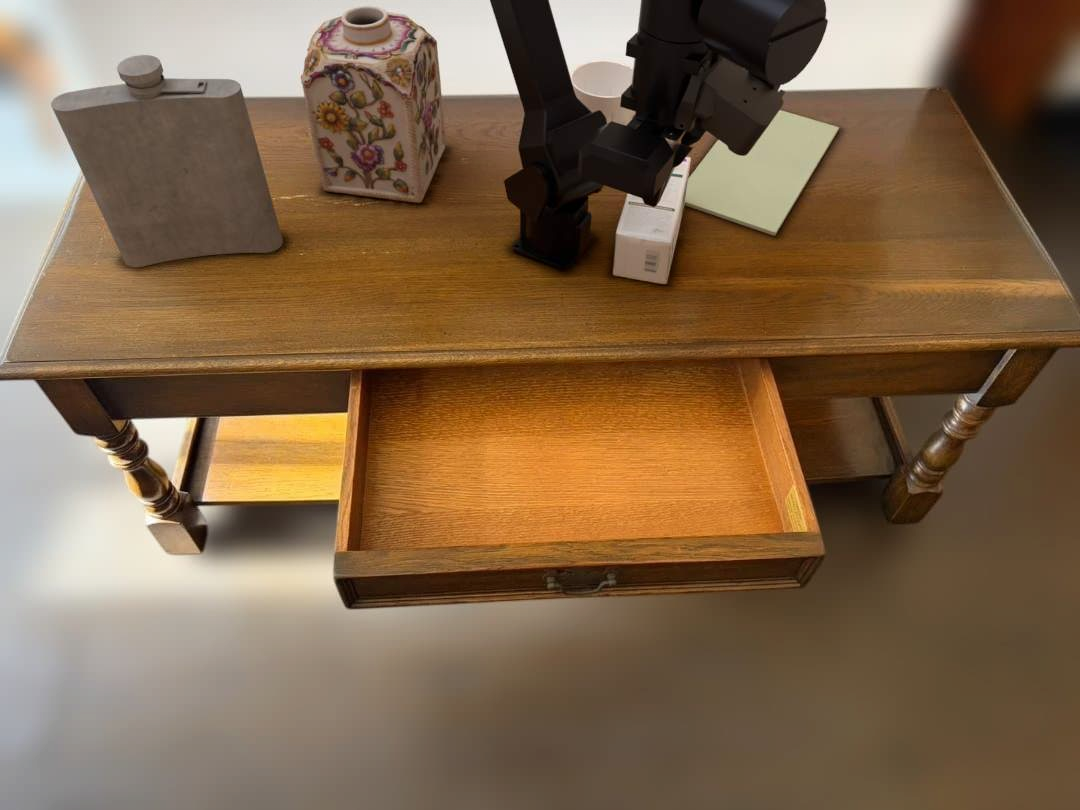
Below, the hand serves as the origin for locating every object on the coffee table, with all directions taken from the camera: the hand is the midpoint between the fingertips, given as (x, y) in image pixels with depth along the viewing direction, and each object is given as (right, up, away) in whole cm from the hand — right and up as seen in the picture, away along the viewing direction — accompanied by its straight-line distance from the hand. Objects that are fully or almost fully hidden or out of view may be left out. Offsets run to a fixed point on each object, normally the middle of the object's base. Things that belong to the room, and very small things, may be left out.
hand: (651, 203), depth 72 cm
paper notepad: (+16, +11, +27) cm, 33 cm away
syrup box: (0, -3, +11) cm, 11 cm away
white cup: (-3, +12, +27) cm, 30 cm away
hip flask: (-45, -1, +15) cm, 47 cm away
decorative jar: (-27, +10, +25) cm, 38 cm away
